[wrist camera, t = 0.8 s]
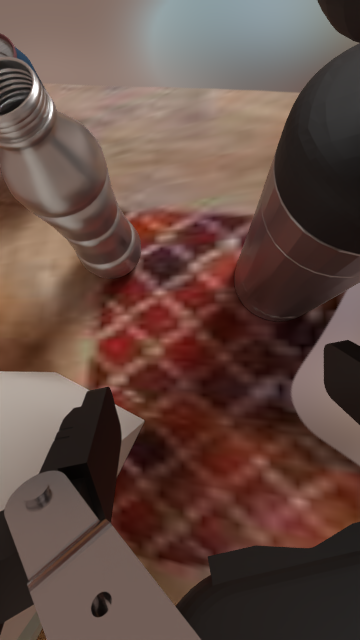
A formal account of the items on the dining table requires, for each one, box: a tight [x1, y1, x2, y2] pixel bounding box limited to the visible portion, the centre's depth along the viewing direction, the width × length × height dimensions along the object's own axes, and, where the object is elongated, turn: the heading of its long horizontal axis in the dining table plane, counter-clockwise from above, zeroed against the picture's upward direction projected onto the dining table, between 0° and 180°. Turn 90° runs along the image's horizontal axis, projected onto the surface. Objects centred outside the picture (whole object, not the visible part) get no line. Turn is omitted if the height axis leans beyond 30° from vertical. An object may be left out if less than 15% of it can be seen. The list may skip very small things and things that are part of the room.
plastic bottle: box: [0, 57, 141, 279], centre depth 23 cm, size 6×7×20 cm
